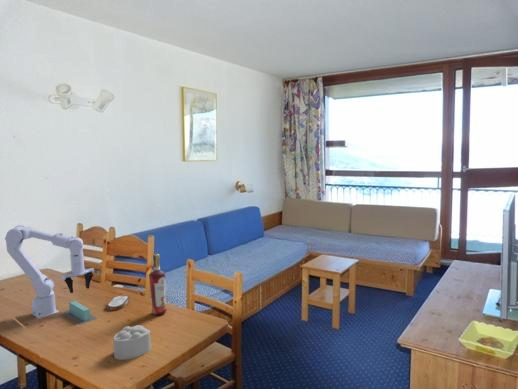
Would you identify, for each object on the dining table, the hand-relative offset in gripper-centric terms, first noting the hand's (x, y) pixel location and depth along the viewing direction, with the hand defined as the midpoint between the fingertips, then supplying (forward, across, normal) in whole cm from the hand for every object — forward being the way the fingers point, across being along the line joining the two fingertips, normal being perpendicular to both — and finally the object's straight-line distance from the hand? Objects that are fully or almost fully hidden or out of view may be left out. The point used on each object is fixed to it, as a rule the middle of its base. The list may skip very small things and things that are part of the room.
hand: (79, 290), depth 187 cm
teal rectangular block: (+9, -4, -9) cm, 14 cm away
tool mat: (+9, -4, -9) cm, 14 cm away
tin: (+8, +11, -8) cm, 15 cm away
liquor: (+10, +22, -34) cm, 42 cm away
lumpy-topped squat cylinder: (+10, -5, -57) cm, 58 cm away
